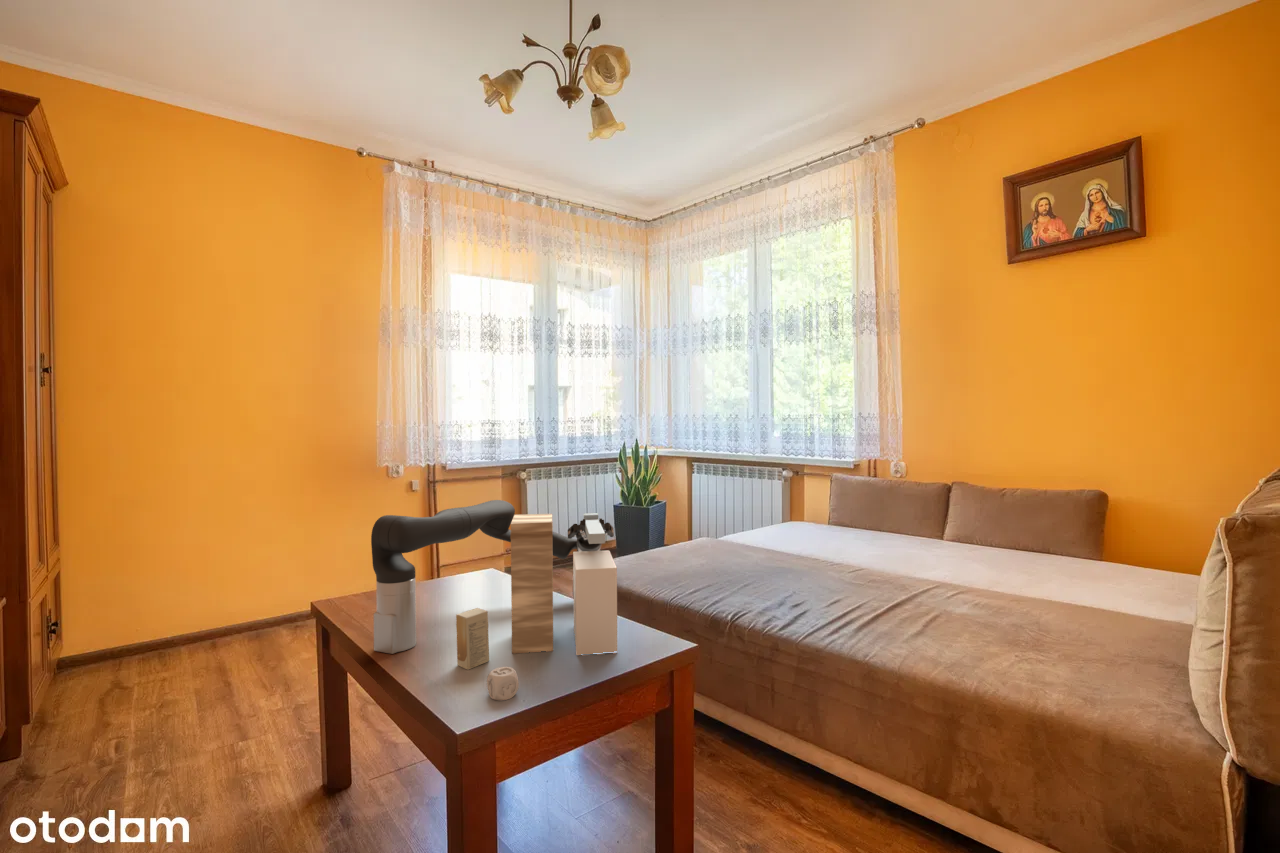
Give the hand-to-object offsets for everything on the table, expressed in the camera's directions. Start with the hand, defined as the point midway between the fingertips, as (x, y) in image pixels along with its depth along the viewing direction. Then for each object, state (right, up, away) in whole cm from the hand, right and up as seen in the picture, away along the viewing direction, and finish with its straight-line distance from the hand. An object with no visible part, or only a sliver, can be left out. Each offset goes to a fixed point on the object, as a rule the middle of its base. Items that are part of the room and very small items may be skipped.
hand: (592, 521), depth 164 cm
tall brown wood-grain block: (-14, -29, -10) cm, 34 cm away
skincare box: (-26, -30, -24) cm, 46 cm away
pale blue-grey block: (+1, -3, -4) cm, 5 cm away
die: (-16, -30, -40) cm, 52 cm away
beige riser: (+1, -29, -9) cm, 31 cm away
